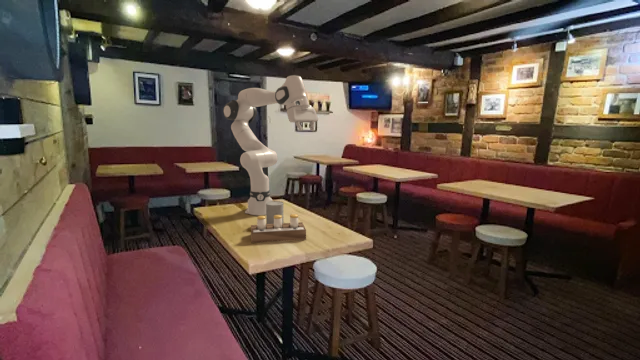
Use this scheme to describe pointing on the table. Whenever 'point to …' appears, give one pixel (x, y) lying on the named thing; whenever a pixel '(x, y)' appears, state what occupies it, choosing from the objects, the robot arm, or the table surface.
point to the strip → (278, 229)
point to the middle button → (277, 221)
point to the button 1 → (261, 222)
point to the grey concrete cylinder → (273, 211)
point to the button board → (277, 234)
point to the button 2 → (293, 221)
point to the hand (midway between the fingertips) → (306, 130)
